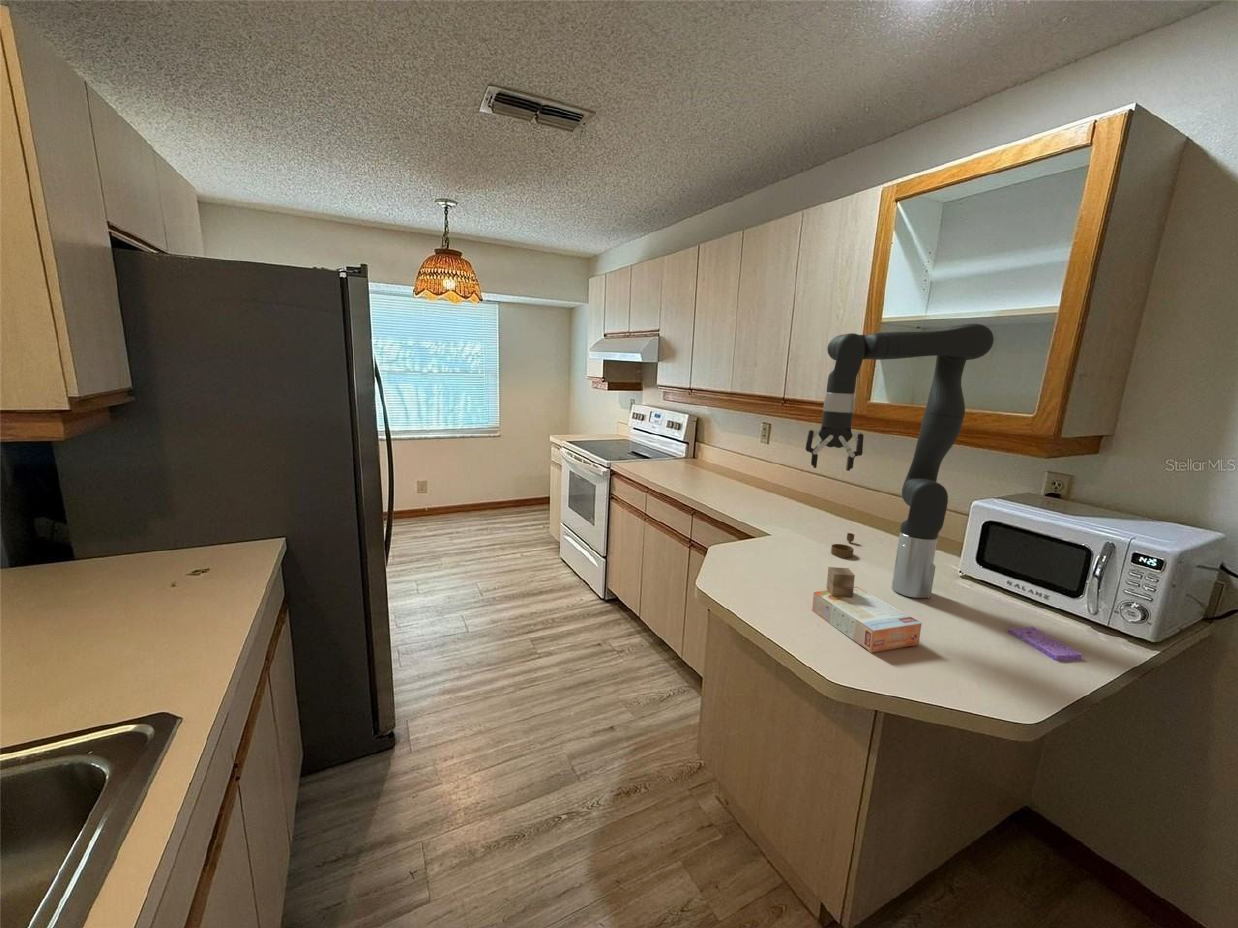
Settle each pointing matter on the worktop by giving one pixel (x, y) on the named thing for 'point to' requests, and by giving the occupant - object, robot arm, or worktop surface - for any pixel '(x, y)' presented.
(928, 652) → the worktop surface
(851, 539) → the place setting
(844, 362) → the robot arm
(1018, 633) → the sponges
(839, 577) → the walnut block
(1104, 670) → the worktop surface
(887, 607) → the cracker box
